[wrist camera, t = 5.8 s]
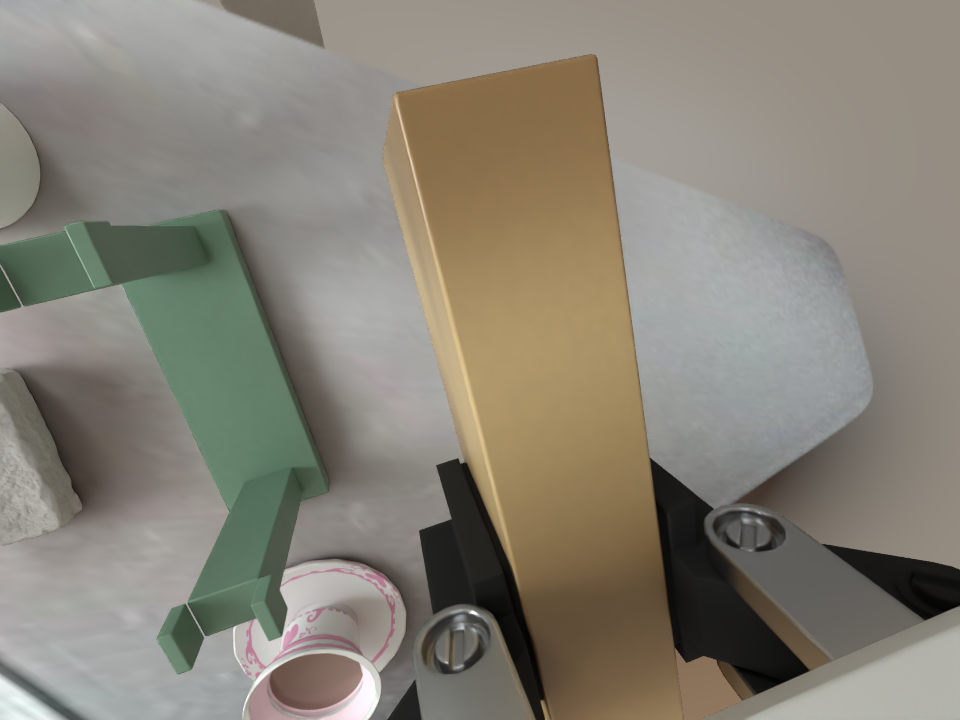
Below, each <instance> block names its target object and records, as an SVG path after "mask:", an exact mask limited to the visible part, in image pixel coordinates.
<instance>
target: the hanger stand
mask: <svg viewBox="0 0 960 720" xmlns="http://www.w3.org/2000/svg"><path fill="white" fill-rule="evenodd" d="M64 228H65V230H66V231H63V232H58V233H54V234H49V235H45V236H40V237H36V238H31V239H27V240H22V241H18V242H13V243H8V244H4V245H0V264H1V265H2V267H3V269H4V271H5V273H6V274H7V276H8V278H9V280H10V282H11V284H12V285H13V287H14V289H15V291H16V293H17V295H18V296H19V298H20V300H21V302H22V304H23V305H24V306H30V305H34V304H38V303H42V302H46V301H51V300H55V299H59V298H63V297H67V296H72V295H76V294H80V293H84V292H89V291H93V290H97V289H101V288H105V287H110V286H114V285H118V284H122V286H123V288H124V290H125V292H126V295H127V297H128V299H129V301H130V303H131V305H132V307H133V309H134V311H135V314H136V316H137V318H138V320H139V322H140V324H141V326H142V328H143V330H144V333H145V335H146V337H147V339H148V341H149V343H150V345H151V347H152V349H153V352H154V354H155V356H156V358H157V360H158V362H159V364H160V366H161V368H162V371H163V373H164V375H165V377H166V379H167V381H168V383H169V385H170V387H171V390H172V392H173V394H174V396H175V398H176V400H177V402H178V404H179V406H180V409H181V411H182V413H183V415H184V417H185V419H186V421H187V423H188V425H189V428H190V430H191V432H192V434H193V436H194V438H195V440H196V442H197V444H198V447H199V449H200V451H201V453H202V455H203V457H204V459H205V461H206V463H207V466H208V468H209V470H210V472H211V474H212V476H213V478H214V480H215V482H216V485H217V487H218V489H219V491H220V493H221V495H222V497H223V499H224V501H225V504H226V506H227V508H228V510H229V512H230V513H229V515H228V517H227V519H226V521H225V524H224V526H223V528H222V530H221V532H220V534H219V536H218V538H217V540H216V543H215V545H214V547H213V549H212V551H211V553H210V555H209V557H208V559H207V562H206V564H205V566H204V568H203V570H202V572H201V574H200V576H199V578H198V581H197V583H196V585H195V587H194V589H193V591H192V593H191V595H190V597H189V600H188V605H189V607H190V609H191V611H192V612H193V614H194V616H195V618H196V620H197V622H198V623H199V625H200V627H201V629H202V631H203V632H204V634H205V636H209V635H211V634H214V633H217V632H220V631H223V630H226V629H228V628H231V627H234V626H237V625H240V624H242V623H245V622H248V621H251V620H254V619H258V621H259V623H260V625H261V627H262V629H263V631H264V633H265V635H266V637H267V640H268V641H272V640H275V639H277V638H280V637H282V635H283V630H284V626H285V621H286V616H287V611H288V607H287V605H286V603H285V601H284V599H283V596H282V594H281V592H280V586H281V582H282V578H283V573H284V569H285V565H286V561H287V557H288V552H289V548H290V544H291V540H292V535H293V531H294V527H295V523H296V518H297V514H298V510H299V506H300V502H301V501H302V500H306V499H309V498H312V497H315V496H318V495H321V494H324V493H327V492H329V485H330V482H329V479H328V477H327V474H326V472H325V469H324V466H323V464H322V461H321V458H320V456H319V453H318V451H317V448H316V445H315V443H314V440H313V438H312V435H311V432H310V430H309V427H308V424H307V422H306V419H305V417H304V414H303V411H302V409H301V406H300V404H299V401H298V398H297V396H296V393H295V391H294V388H293V385H292V383H291V380H290V377H289V375H288V372H287V370H286V367H285V364H284V362H283V359H282V357H281V354H280V351H279V349H278V346H277V343H276V341H275V338H274V336H273V333H272V330H271V328H270V325H269V323H268V320H267V317H266V315H265V312H264V309H263V307H262V304H261V302H260V299H259V296H258V294H257V291H256V289H255V286H254V283H253V281H252V278H251V276H250V273H249V270H248V268H247V265H246V262H245V260H244V257H243V255H242V252H241V249H240V247H239V244H238V242H237V239H236V236H235V234H234V231H233V228H232V226H231V223H230V221H229V218H228V215H227V213H226V211H225V210H214V211H210V212H205V213H201V214H196V215H192V216H187V217H183V218H178V219H174V220H170V221H165V222H161V223H156V224H152V225H147V226H111V224H110V223H109V222H107V221H80V222H75V223H70V224H66V225H64ZM20 307H21V304H20V302H19V301H18V299H17V297H16V295H15V293H14V292H13V290H12V288H11V286H10V284H9V282H8V281H7V279H6V277H5V275H4V273H3V272H2V270H1V268H0V312H4V311H9V310H13V309H17V308H20ZM203 640H204V637H203V635H202V633H201V631H200V629H199V628H198V626H197V624H196V622H195V620H194V619H193V617H192V615H191V613H190V611H189V609H188V608H187V606H186V604H183V605H180V606H177V607H174V608H172V609H171V610H170V612H169V614H168V616H167V618H166V620H165V622H164V624H163V626H162V628H161V630H160V632H159V634H158V636H157V641H158V643H159V645H160V646H161V648H162V650H163V651H164V653H165V655H166V656H167V658H168V660H169V661H170V663H171V665H172V666H173V668H174V670H175V672H176V673H177V674H181V673H184V672H187V671H189V670H191V669H192V668H193V665H194V663H195V660H196V658H197V655H198V653H199V650H200V647H201V645H202V642H203Z"/></svg>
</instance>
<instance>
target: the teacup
mask: <svg viewBox="0 0 960 720" xmlns="http://www.w3.org/2000/svg"><path fill="white" fill-rule="evenodd" d="M280 592H281V594H282V596H283V599H284V601H285V603H286V605H287V607H288V611H287V616H286V621H285V626H284V630H283V635H282V637H280V638H277V639H275V640H272V641H268V640H267V637H266V635H265V633H264V631H263V629H262V627H261V625H260V623H259V621H258V619H254V620H251V621H248V622H245V623H242V624H240V625H237V626H235V627H234V630H233V642H234V654H235V656H236V658H237V660H238V662H239V663H240V665H241V667H242V669H243V671H244V672H245V674H246V675H248V676H249V677H250V678H251V679H253V680H254V683H253V685H252V687H251V689H250V692H249V694H248V697H247V699H246V701H245V704H244V709H243V720H369V718H370V717H371V716H372V714H373V713H374V711H375V709H376V707H377V705H378V703H379V700H380V696H381V691H382V683H381V678H380V675H379V672H381V671H382V670H383V669H384V668H385V666H386V665H387V664H388V663H389V662H390V660H391V659H392V658H393V657H394V656H395V655H396V653H397V652H398V649H399V647H400V645H401V642H402V640H403V637H404V635H405V633H406V608H405V605H404V602H403V600H402V597H401V595H400V592H399V590H398V589H397V588H396V587H395V585H394V584H393V583H392V582H391V581H390V580H389V579H388V578H387V577H386V576H385V575H384V574H383V573H381V572H379V571H377V570H375V569H373V568H371V567H369V566H367V565H365V564H363V563H358V562H353V561H347V560H342V559H326V560H315V561H307V562H304V563H301V564H299V565H296V566H293V567H290V568H287V569H284V573H283V578H282V582H281V586H280Z"/></svg>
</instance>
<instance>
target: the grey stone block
mask: <svg viewBox="0 0 960 720" xmlns="http://www.w3.org/2000/svg"><path fill="white" fill-rule="evenodd" d="M81 508H82V504H81V502H80V499H79V497H78V495H77V494H76V493H75V492H74V491H73V489H72V486H71V478H70V476H69V475H68V473H67V472H66V470H65V469H64V467H63V465H62V463H61V460H60V458H59V456H58V451H57V448H56V445H55V442H54V440H53V438H52V436H51V434H50V432H49V430H48V428H47V427H46V425H45V423H44V419H43V417H42V415H41V413H40V411H39V409H38V407H37V405H36V403H35V401H34V399H33V397H32V395H31V394H30V392H29V390H28V389H27V386H26V384H25V382H24V380H23V379H22V377H21V376H20V374H19V373H18V372H16V371H14V370H12V369H9V368H7V369H0V547H1V546H5V545H9V544H13V543H17V542H21V541H24V540H27V539H30V538H33V537H37V536H40V535H43V534H48V533H50V532H53V531H55V530H57V529H59V528H61V527H63V526H65V525H66V524H68V522H69V521H70V520H72V519H73V517H74V515H75V514H76V513H77V512H79V511H80V510H81Z"/></svg>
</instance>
